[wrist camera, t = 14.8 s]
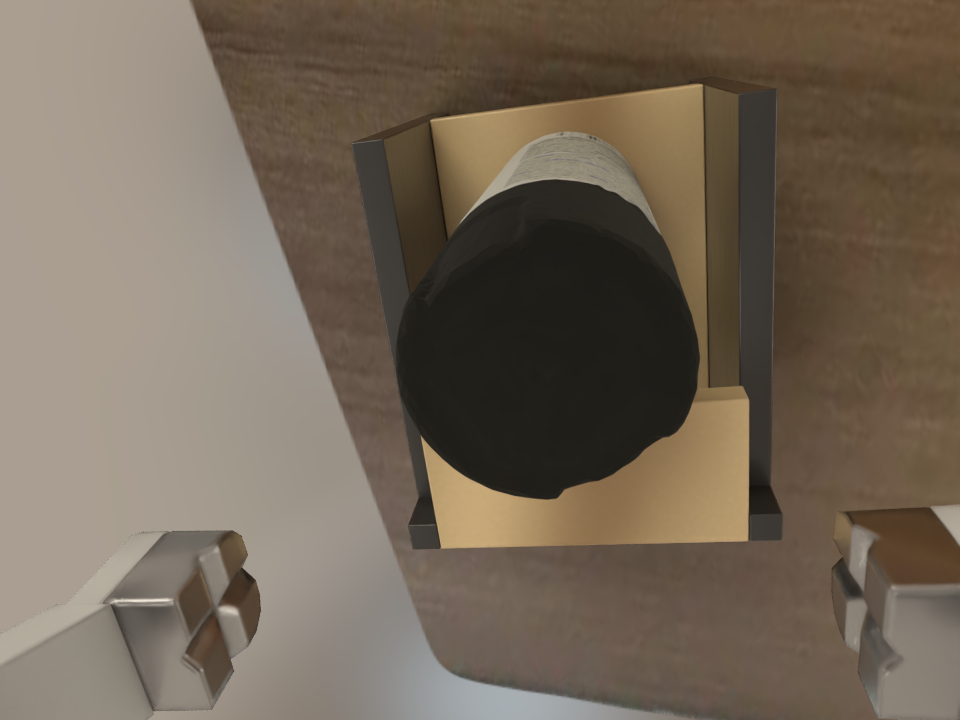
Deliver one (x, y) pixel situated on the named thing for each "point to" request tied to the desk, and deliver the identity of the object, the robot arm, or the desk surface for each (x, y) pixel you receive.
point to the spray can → (550, 327)
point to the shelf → (702, 273)
